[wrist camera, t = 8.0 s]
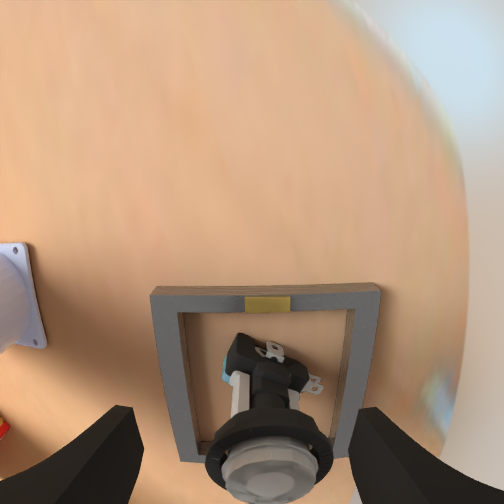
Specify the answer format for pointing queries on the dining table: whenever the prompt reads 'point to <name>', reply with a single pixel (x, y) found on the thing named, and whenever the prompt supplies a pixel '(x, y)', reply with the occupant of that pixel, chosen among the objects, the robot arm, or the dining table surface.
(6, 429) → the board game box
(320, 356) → the dining table surface
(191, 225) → the dining table surface
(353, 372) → the frame
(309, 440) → the push button
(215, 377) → the dining table surface
